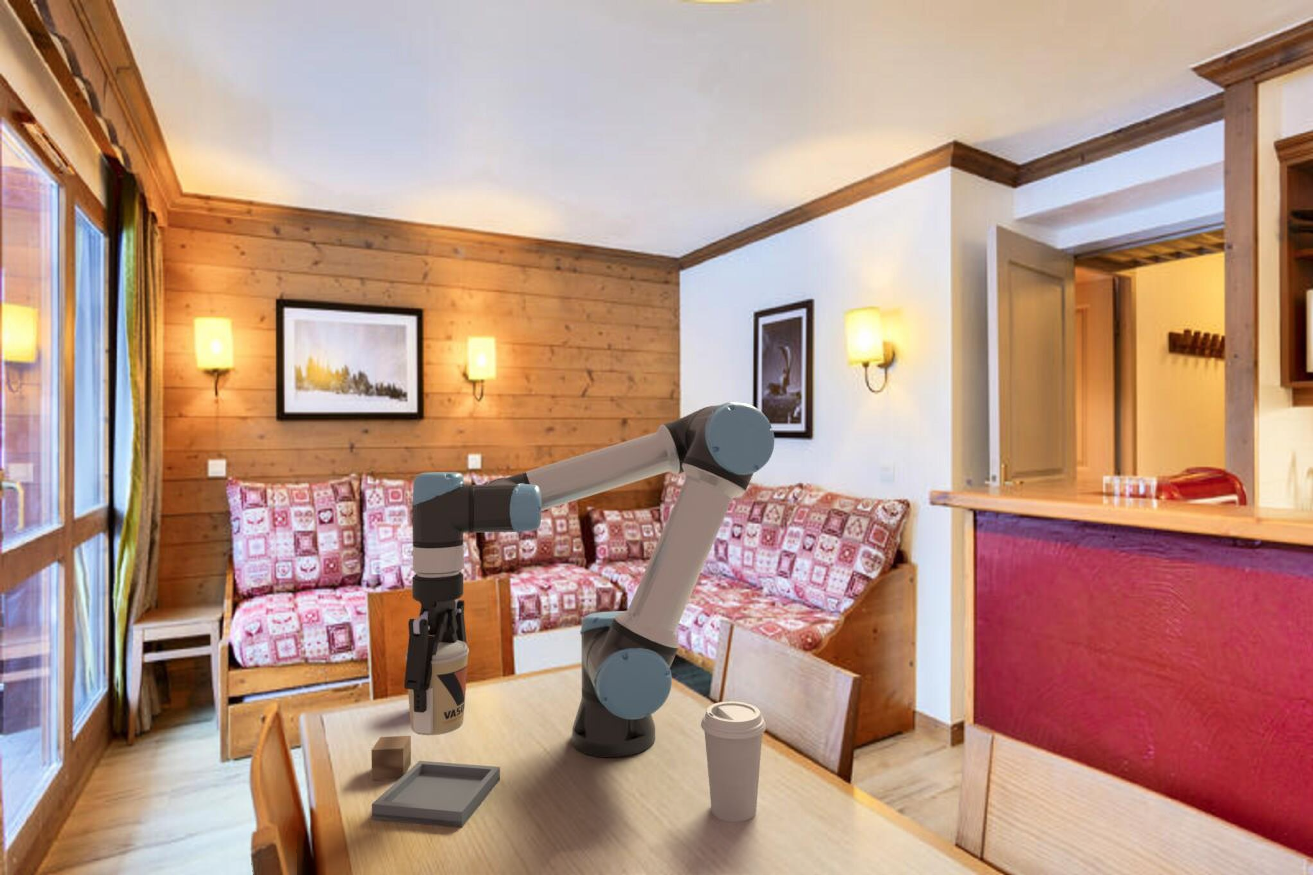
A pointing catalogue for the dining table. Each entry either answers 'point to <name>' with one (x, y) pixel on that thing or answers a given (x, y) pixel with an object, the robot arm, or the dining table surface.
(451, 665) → the coffee cup
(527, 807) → the dining table surface
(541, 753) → the dining table surface
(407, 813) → the tray
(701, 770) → the dining table surface
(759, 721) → the coffee cup
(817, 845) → the dining table surface
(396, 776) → the walnut cube
